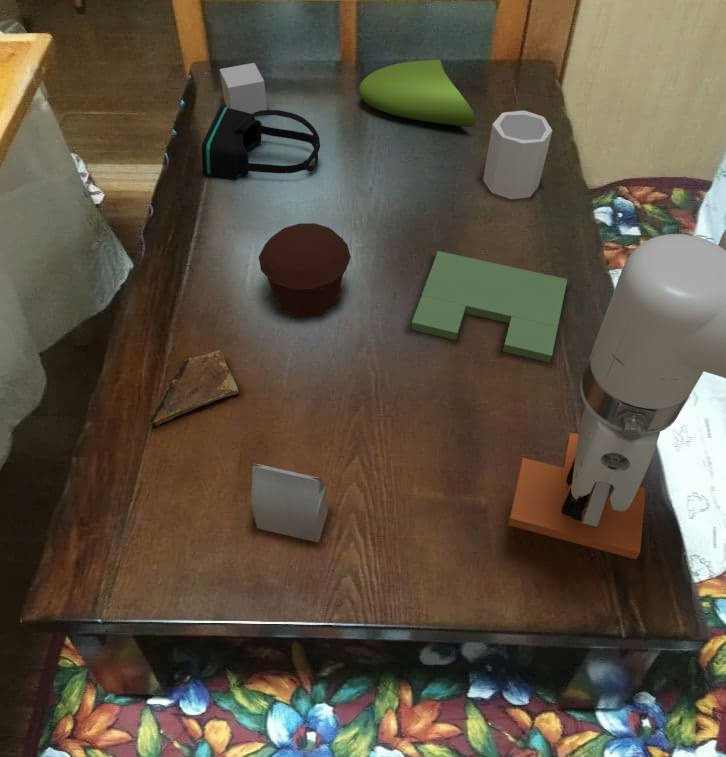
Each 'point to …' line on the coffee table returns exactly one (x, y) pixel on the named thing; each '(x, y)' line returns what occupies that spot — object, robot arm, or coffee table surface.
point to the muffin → (305, 268)
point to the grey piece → (288, 502)
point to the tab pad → (543, 515)
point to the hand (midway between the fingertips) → (580, 499)
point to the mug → (516, 154)
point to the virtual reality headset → (249, 143)
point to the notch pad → (492, 302)
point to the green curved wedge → (417, 93)
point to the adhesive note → (243, 88)
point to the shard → (196, 386)
